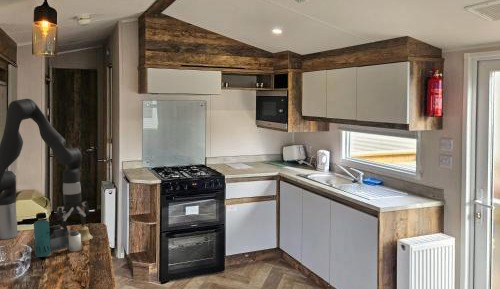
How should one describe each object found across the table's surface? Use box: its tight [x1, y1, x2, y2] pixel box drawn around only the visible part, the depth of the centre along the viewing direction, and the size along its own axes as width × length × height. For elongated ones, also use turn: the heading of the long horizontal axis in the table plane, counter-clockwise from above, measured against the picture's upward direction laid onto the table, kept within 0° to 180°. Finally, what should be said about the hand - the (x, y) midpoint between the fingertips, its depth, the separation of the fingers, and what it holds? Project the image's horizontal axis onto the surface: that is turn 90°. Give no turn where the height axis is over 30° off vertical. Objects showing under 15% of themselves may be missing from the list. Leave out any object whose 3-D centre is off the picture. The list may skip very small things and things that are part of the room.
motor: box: [49, 224, 72, 253], centre depth 200 cm, size 17×8×10 cm, turn 138°
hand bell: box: [78, 206, 94, 242], centre depth 213 cm, size 8×8×16 cm
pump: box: [68, 230, 82, 252], centre depth 199 cm, size 5×5×8 cm
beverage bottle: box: [33, 212, 52, 258], centre depth 188 cm, size 6×7×20 cm
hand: (74, 226), depth 198 cm, fingers open, 8 cm apart
